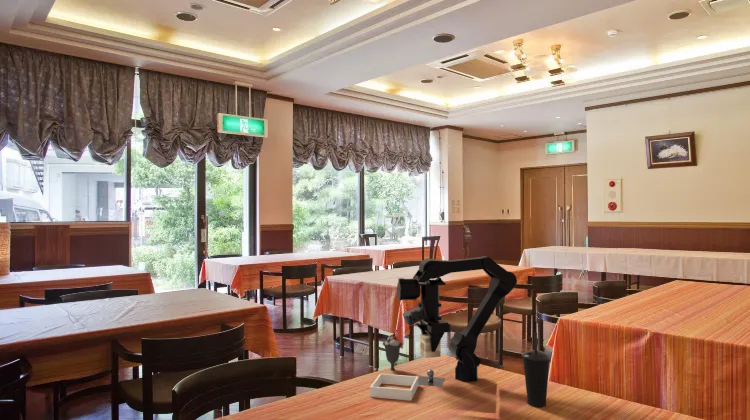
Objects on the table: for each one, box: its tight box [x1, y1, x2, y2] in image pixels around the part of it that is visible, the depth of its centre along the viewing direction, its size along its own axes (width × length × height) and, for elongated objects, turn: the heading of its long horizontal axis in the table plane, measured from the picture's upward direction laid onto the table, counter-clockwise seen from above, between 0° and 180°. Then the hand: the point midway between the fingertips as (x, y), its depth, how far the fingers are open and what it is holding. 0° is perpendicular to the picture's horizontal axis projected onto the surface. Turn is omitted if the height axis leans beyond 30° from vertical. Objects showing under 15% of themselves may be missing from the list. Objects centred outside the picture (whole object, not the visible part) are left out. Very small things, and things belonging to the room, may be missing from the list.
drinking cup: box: [521, 331, 551, 408], centre depth 134 cm, size 8×8×20 cm
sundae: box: [382, 329, 404, 372], centre depth 161 cm, size 7×7×15 cm
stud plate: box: [418, 369, 446, 388], centre depth 149 cm, size 8×8×5 cm
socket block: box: [419, 333, 442, 359], centre depth 149 cm, size 5×5×6 cm
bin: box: [369, 373, 420, 401], centre depth 141 cm, size 12×12×4 cm
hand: (430, 349), depth 149 cm, fingers closed on socket block, 5 cm apart
